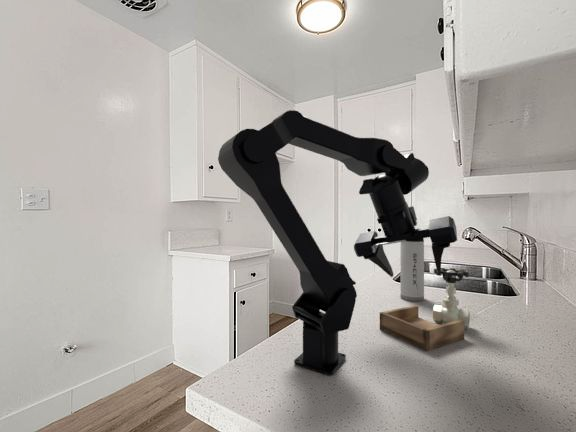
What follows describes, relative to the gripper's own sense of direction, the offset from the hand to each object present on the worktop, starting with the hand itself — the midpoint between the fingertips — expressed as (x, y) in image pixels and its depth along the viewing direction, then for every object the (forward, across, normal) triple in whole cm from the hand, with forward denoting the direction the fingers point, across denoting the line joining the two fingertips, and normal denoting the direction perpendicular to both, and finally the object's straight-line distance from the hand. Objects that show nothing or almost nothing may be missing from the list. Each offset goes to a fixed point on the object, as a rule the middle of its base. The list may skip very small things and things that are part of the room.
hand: (415, 273), depth 58 cm
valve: (+16, -3, -2) cm, 16 cm away
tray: (+11, +2, +6) cm, 12 cm away
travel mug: (+21, +8, -18) cm, 29 cm away
